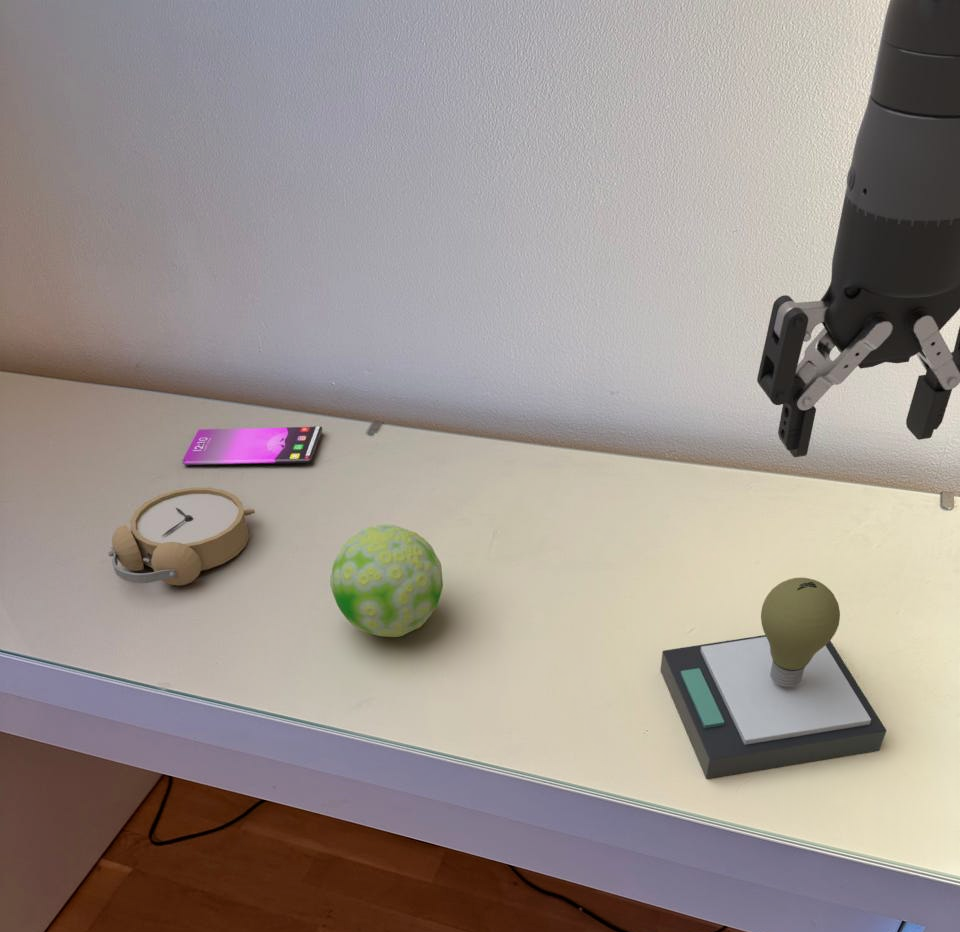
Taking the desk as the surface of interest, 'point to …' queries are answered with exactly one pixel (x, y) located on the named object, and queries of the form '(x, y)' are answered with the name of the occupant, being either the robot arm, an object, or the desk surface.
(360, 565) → the decorative ball
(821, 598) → the light bulb
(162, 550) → the alarm clock
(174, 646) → the desk surface
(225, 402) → the desk surface
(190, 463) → the smartphone
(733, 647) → the scale
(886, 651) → the desk surface
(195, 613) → the desk surface
